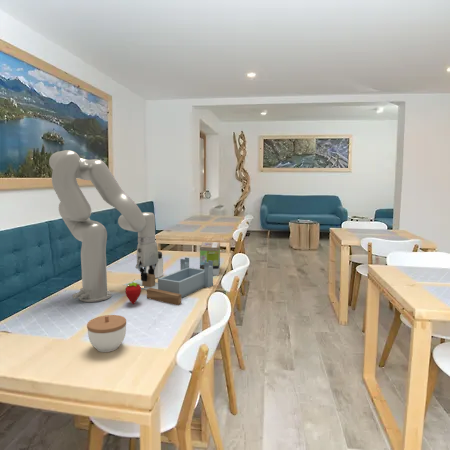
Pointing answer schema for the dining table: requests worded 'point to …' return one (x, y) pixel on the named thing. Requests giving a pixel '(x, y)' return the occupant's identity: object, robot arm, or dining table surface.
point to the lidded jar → (106, 332)
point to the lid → (147, 282)
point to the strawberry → (133, 292)
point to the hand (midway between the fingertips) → (147, 279)
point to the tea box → (210, 255)
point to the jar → (158, 266)
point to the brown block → (164, 296)
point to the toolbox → (187, 279)
